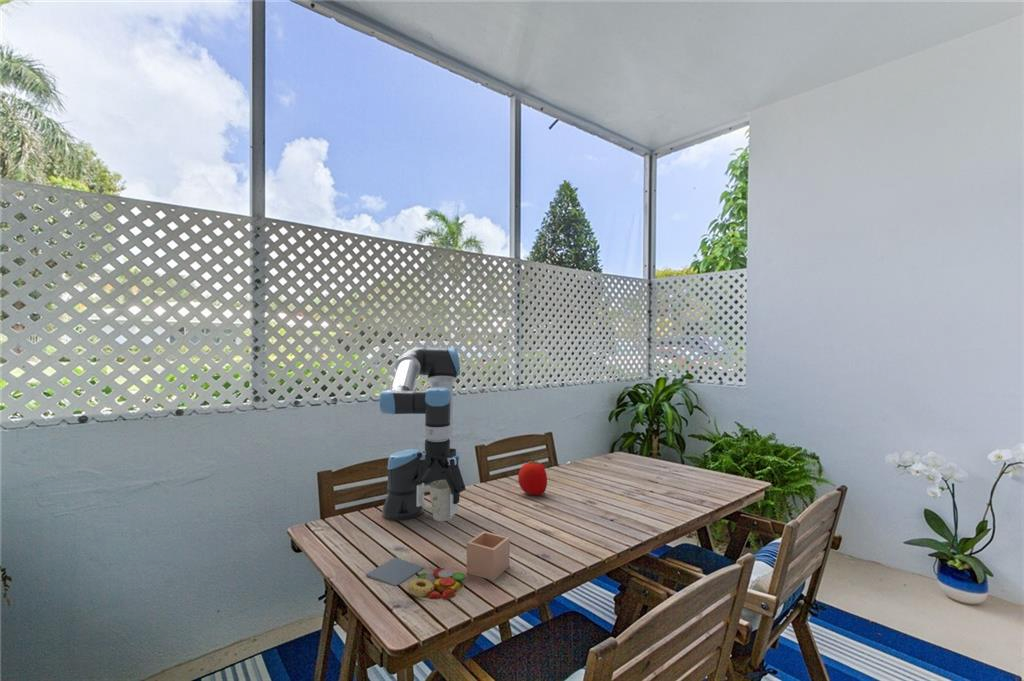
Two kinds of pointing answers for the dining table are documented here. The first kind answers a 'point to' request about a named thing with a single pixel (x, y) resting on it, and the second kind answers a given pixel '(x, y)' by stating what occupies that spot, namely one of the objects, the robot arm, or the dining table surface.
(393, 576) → the coaster
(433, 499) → the mug
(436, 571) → the toy food set
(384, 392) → the robot arm
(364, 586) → the dining table surface
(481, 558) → the planter
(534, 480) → the tomato
